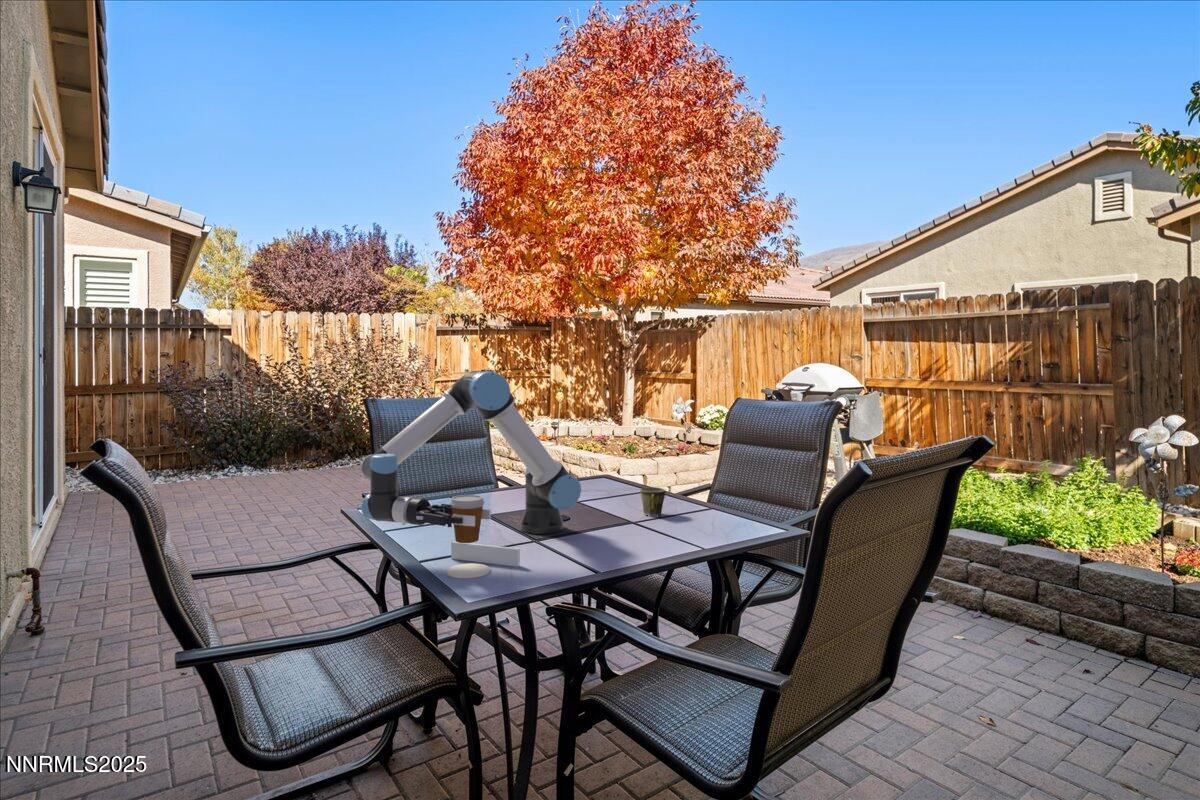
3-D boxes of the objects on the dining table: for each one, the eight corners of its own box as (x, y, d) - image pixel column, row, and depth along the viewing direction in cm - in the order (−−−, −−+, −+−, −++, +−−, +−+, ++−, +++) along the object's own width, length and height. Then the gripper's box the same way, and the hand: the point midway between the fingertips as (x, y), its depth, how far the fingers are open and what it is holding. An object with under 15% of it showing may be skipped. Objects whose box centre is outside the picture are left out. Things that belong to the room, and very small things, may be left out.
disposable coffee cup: (489, 542, 181) (489, 499, 180) (455, 546, 176) (455, 502, 176) (477, 534, 189) (477, 493, 189) (445, 538, 185) (445, 496, 184)
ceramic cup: (639, 511, 260) (639, 486, 259) (664, 512, 259) (664, 487, 259) (640, 519, 247) (640, 493, 246) (666, 520, 246) (667, 493, 246)
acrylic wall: (451, 558, 195) (451, 542, 195) (453, 557, 197) (453, 541, 196) (518, 566, 188) (518, 549, 188) (519, 565, 189) (519, 548, 189)
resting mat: (494, 565, 189) (494, 564, 189) (483, 579, 177) (483, 577, 177) (454, 564, 190) (454, 562, 190) (440, 577, 178) (440, 576, 178)
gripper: (432, 515, 198) (500, 522, 191) (389, 532, 178) (462, 540, 171) (432, 491, 198) (500, 497, 191) (389, 505, 178) (462, 512, 171)
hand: (482, 517), depth 181 cm, fingers closed on disposable coffee cup, 8 cm apart
